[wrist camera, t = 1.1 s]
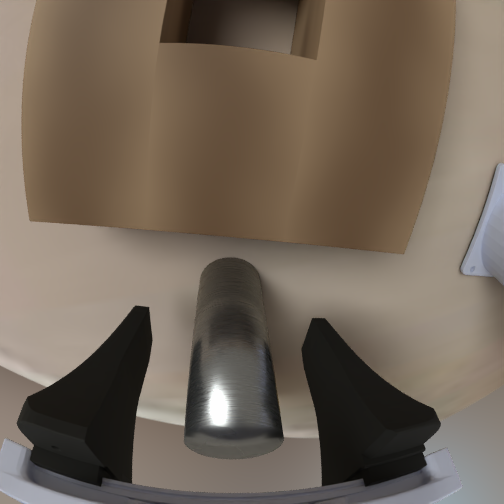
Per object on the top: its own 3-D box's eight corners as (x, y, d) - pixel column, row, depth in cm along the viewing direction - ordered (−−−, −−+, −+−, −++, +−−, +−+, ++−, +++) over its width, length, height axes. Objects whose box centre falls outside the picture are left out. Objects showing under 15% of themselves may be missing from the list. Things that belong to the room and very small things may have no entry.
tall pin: (264, 260, 15) (294, 421, 8) (255, 308, 17) (273, 458, 9) (201, 255, 15) (181, 418, 7) (198, 304, 16) (185, 456, 9)
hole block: (400, -60, 7) (447, -87, 3) (360, 209, 14) (403, 254, 10) (126, -96, 5) (99, -135, 1) (79, 183, 12) (29, 221, 9)
